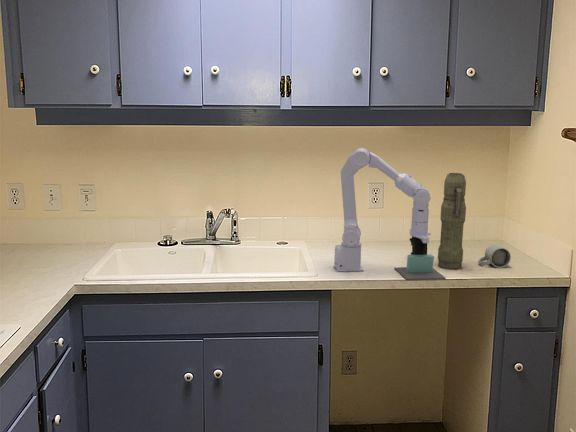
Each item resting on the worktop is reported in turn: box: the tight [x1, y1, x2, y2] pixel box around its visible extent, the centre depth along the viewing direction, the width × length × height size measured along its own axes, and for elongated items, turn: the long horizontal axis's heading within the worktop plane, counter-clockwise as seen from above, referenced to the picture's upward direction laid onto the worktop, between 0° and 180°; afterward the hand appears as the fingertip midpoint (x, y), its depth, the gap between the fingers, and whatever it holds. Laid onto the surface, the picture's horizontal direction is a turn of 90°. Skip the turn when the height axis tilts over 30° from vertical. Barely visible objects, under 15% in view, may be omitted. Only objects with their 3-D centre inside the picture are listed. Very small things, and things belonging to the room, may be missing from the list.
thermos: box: [437, 172, 467, 271], centre depth 214 cm, size 9×12×35 cm
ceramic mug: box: [477, 244, 512, 269], centre depth 219 cm, size 11×8×8 cm
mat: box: [393, 266, 447, 281], centre depth 206 cm, size 14×14×1 cm
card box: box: [406, 254, 435, 273], centre depth 206 cm, size 9×2×6 cm, turn 97°
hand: (417, 258), depth 208 cm, fingers closed
